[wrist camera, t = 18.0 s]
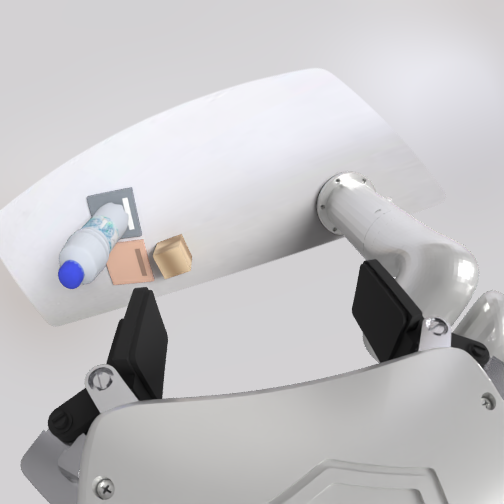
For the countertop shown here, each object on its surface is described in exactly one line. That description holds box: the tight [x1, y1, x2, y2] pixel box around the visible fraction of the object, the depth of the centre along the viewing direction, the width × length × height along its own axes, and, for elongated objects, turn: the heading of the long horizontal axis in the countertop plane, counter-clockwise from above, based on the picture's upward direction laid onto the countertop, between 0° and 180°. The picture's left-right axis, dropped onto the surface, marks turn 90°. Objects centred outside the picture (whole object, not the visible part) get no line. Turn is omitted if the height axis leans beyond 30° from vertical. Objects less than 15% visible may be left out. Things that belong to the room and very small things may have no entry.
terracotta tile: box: [106, 239, 154, 285], centre depth 50 cm, size 9×9×1 cm
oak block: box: [153, 234, 192, 279], centre depth 48 cm, size 5×5×5 cm
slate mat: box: [87, 187, 142, 239], centre depth 45 cm, size 9×9×1 cm
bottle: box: [58, 202, 129, 289], centre depth 36 cm, size 7×7×20 cm
